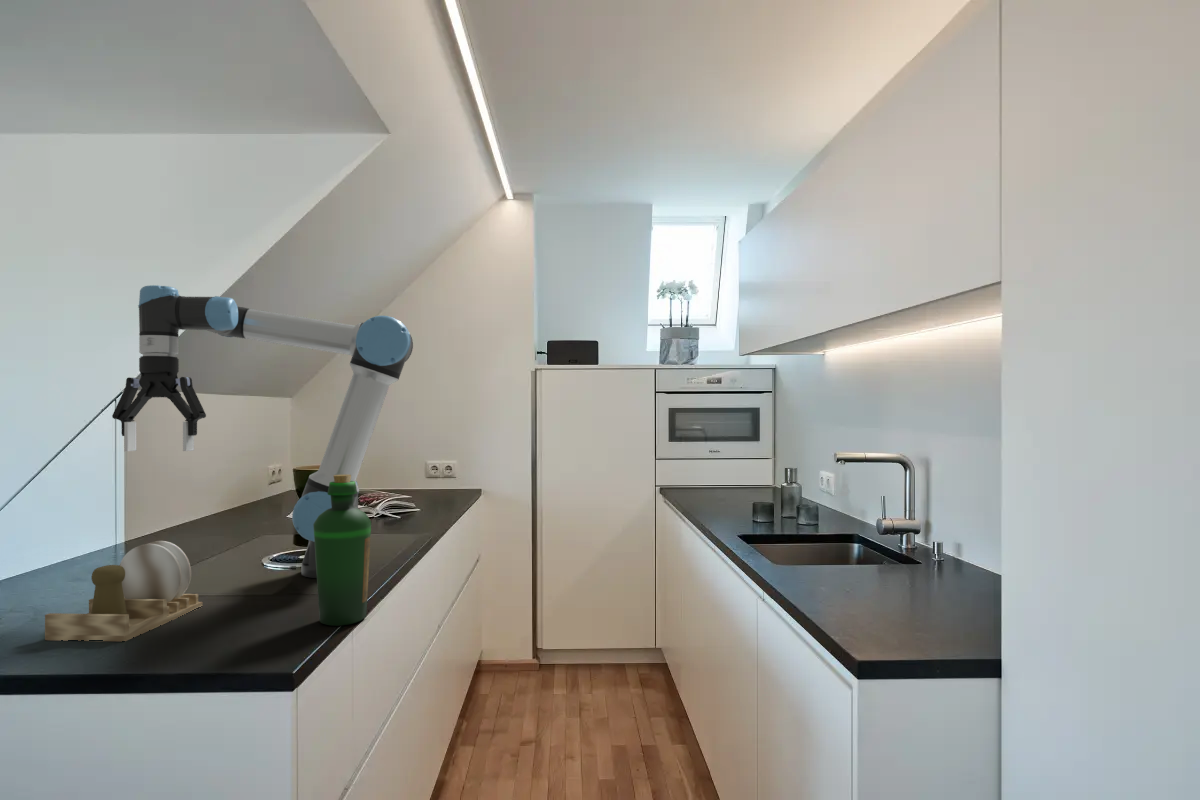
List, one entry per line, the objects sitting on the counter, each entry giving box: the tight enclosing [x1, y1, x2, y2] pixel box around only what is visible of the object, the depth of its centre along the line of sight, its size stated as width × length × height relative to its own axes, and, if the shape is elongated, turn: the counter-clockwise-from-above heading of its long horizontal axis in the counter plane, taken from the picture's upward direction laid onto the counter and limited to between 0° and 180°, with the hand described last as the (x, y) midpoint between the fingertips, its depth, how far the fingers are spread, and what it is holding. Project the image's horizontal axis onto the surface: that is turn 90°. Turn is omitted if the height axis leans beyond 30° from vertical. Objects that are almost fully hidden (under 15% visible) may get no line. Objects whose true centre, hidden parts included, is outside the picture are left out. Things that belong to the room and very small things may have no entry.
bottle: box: [313, 474, 372, 627], centre depth 138 cm, size 11×11×28 cm
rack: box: [44, 540, 204, 642], centre depth 138 cm, size 15×22×14 cm
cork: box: [91, 564, 127, 614], centre depth 133 cm, size 6×6×11 cm
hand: (159, 451), depth 160 cm, fingers open, 13 cm apart
